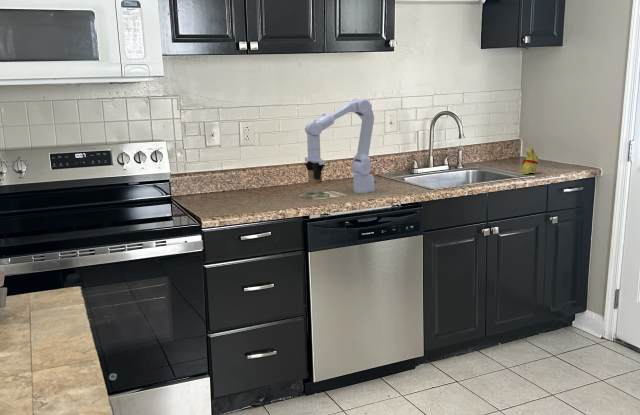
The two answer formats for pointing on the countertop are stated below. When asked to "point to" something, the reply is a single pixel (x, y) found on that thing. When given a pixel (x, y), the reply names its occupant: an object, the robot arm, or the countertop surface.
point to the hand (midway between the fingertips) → (314, 178)
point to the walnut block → (313, 177)
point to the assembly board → (321, 195)
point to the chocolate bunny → (530, 161)
